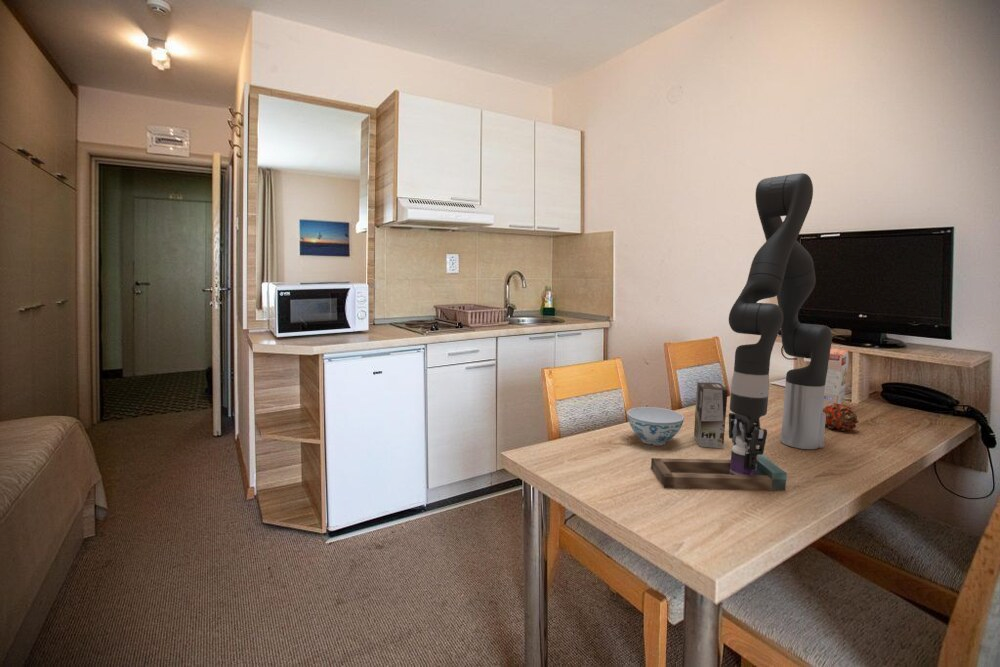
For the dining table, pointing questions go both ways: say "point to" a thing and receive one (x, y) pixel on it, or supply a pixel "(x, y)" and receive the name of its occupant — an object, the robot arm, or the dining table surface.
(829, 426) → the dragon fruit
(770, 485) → the channel
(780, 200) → the robot arm
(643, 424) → the chinaware
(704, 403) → the coffee box
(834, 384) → the cracker box
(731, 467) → the pill bottle
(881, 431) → the dining table surface
